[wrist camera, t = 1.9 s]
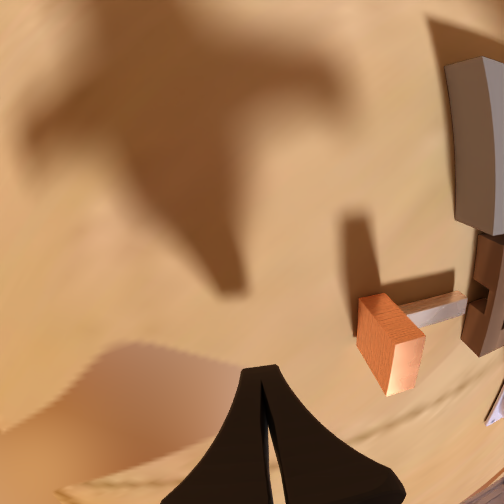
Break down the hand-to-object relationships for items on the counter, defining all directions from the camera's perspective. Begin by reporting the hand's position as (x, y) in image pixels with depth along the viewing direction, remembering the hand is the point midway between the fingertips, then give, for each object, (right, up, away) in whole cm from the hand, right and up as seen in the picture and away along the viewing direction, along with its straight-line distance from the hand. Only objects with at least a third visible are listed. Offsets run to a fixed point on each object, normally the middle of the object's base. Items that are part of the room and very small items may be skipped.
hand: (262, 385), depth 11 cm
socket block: (+16, +3, +4) cm, 17 cm away
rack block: (+14, +11, +1) cm, 18 cm away
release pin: (+8, +2, +3) cm, 9 cm away
